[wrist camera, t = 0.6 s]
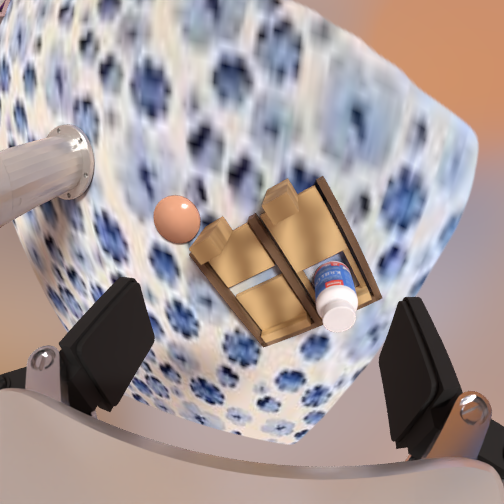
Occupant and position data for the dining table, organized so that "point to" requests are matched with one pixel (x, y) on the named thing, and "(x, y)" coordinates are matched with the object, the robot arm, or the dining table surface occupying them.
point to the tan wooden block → (232, 251)
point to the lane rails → (283, 288)
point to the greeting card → (3, 7)
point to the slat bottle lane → (306, 232)
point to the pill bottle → (335, 296)
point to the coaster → (177, 219)
